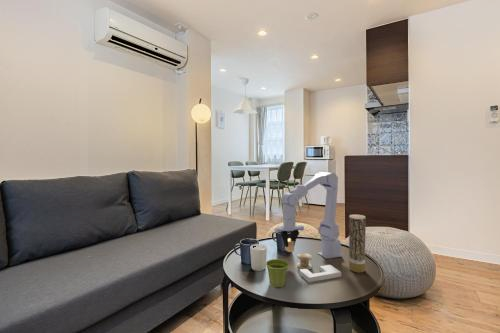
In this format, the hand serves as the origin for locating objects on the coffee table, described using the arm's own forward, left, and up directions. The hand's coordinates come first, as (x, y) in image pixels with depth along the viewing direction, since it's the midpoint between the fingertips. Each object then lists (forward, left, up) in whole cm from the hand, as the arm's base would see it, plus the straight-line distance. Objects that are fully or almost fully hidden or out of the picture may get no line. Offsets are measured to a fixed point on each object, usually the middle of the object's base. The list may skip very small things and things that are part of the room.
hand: (289, 246), depth 124 cm
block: (0, 0, -2) cm, 2 cm away
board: (-8, +14, -9) cm, 18 cm away
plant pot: (+13, +15, -10) cm, 22 cm away
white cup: (+15, -2, -10) cm, 18 cm away
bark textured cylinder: (-27, +15, -10) cm, 32 cm away
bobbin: (-6, +4, -9) cm, 12 cm away
